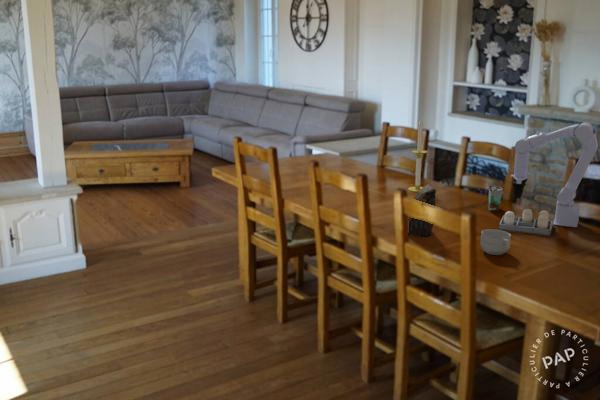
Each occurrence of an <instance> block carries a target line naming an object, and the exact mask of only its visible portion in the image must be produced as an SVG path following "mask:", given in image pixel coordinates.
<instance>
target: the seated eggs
mask: <svg viewBox="0 0 600 400" xmlns="http://www.w3.org/2000/svg"><path fill="white" fill-rule="evenodd" d="M521 217H522V222H528V223H532V218H533V211H532V210H531V208H525V209H523V211H522V216H521ZM537 219H538V222H537V228H540V229H547V226H548V221H549V220H550V214H549V212H548V211H547V210H545V209H544V210H541V211H540V212H539V213H538V217H537Z"/></svg>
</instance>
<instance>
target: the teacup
mask: <svg viewBox="0 0 600 400" xmlns="http://www.w3.org/2000/svg"><path fill="white" fill-rule="evenodd" d="M480 233H481V236H480V248H481V249H482V250H483V251H484V252H485V253H486V254H488V255H493V256H502V255H504V254H505V253H506V252H507V251H508V250H509V249H510V247H511V237H512V234H511V233H510V232H509V231H503V230H499V229H492V228H491V229H489V228H488V229H483V230H481V232H480Z"/></svg>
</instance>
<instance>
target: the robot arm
mask: <svg viewBox="0 0 600 400" xmlns="http://www.w3.org/2000/svg"><path fill="white" fill-rule="evenodd" d="M564 137H570V138H576V139H577V140H578V141H579V142H580V143H581V145H582V146H583V150H582V152H581V155H580V156H579V159H578V161H577V162H576V164H575V166H574V168H573V170H572V173H570V176H569V178H568V180H567V181H566V183H565V185H564V186H563V188H561V190H560V192H558V194H557V196H556V200H557V201H556V207H555V216H554V217H555V218H554V219H553V223H552V226H553V225H554V226H561V227H569V228H570V227H571V228H578V223H579V222H580V218H579V214H580V205H579V204H575V201H574V199H575V198H576V196H577V189H578V187H579V185H580V182H581V181H582V178H583V177H584V176H585V173H586V171H587V169H588V168H589V165H590V163H591V162H592V160H593V159H594V156H595V154H596V152H597V150H598V147H599V144H598V137H597V130H596V127H594V125H593V124H592V123H591V122H588V121H585V122H582V123H576V124H572V125H568V126H565V127H562V128H560V129H558V130H555V131H551V132H548V133H545V132H543V131H542V132H540V131H538V132H535V134H533V135H530V136H528V135H526V136H525V137H523V138H522V137H521V138H520V139H519V140H518V141H516V143H515V144H514V149H515V156H514V168H513V174H510V178H513V180H514V181H512V183H511V184H512V186H513V189H514V197H515V199H521V198H522V195H523V192H524V188H525V187H526V185H527V181H528V178H529V176H528V172H529V163H530V162H529V161H530V150H535V149H538V148H542V147H545V146H547V145H548V143H549V142H551V141H554V140H557V139H560V138H564Z"/></svg>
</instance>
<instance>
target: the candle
mask: <svg viewBox="0 0 600 400" xmlns="http://www.w3.org/2000/svg"><path fill="white" fill-rule="evenodd" d="M423 126H424V125H423V121H422V118H420V119H419V122H418V126H417V146H416V147H417V149H413V150H410V152H411V154H416V157H415V158H416V161H415V162H416V163H415V185H414V186H410V187H408V188H407V190H408V191H409V192H413V193H415V192H416V193H418V192H419V191H420V190H421V189H422V188H423V186H421V179H422V178H421V173H422V154H428V150H425V149H422V147H423V146H422V145H423V144H422V143H423Z"/></svg>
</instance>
